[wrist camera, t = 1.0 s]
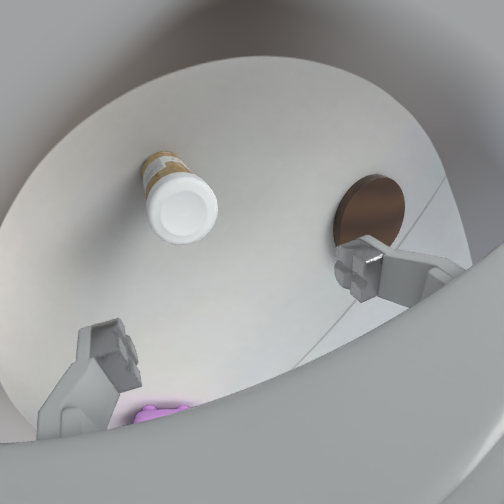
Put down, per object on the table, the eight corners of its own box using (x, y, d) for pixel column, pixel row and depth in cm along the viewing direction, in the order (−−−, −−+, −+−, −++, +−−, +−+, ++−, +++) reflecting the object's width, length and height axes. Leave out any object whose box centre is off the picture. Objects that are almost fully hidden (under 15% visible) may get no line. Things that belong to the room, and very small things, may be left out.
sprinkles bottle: (192, 169, 30) (233, 209, 19) (162, 201, 30) (186, 260, 19) (161, 141, 27) (183, 162, 16) (131, 174, 28) (132, 219, 17)
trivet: (333, 182, 38) (340, 185, 36) (401, 168, 42) (408, 171, 40) (332, 270, 45) (337, 274, 44) (394, 245, 49) (399, 248, 47)
